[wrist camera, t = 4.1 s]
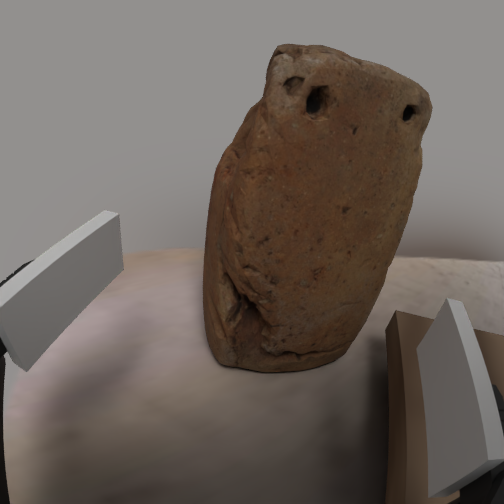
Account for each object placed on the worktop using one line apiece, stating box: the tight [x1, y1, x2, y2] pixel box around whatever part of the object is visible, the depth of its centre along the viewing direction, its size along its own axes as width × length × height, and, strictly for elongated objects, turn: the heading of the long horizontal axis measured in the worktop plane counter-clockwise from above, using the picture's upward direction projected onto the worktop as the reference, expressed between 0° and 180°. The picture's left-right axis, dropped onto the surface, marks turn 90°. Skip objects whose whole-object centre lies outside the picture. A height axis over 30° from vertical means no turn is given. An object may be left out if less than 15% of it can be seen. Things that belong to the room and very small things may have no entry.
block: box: [203, 44, 432, 372], centre depth 18 cm, size 11×8×20 cm
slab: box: [385, 311, 504, 504], centre depth 13 cm, size 14×18×5 cm
